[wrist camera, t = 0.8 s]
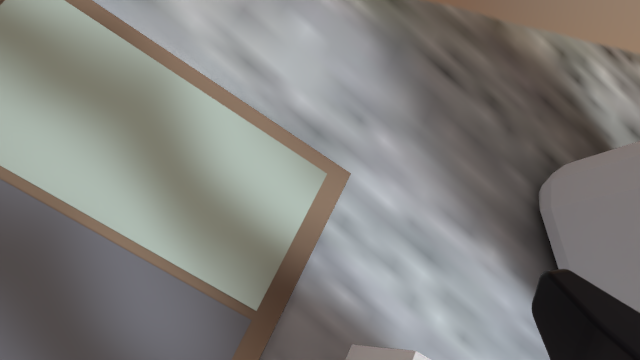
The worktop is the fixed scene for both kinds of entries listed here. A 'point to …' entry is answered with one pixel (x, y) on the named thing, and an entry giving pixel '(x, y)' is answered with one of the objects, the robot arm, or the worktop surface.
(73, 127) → the game board
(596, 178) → the soap bottle
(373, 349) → the die
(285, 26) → the worktop surface
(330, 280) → the worktop surface
